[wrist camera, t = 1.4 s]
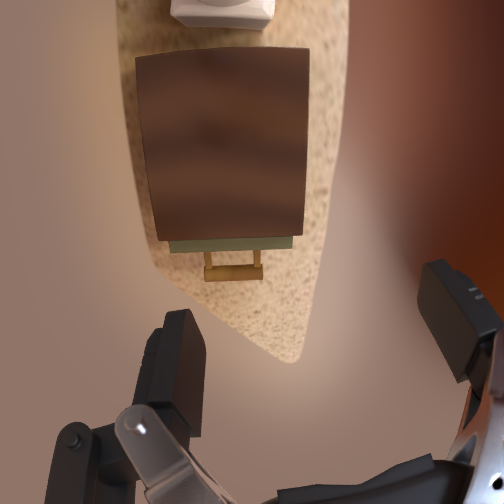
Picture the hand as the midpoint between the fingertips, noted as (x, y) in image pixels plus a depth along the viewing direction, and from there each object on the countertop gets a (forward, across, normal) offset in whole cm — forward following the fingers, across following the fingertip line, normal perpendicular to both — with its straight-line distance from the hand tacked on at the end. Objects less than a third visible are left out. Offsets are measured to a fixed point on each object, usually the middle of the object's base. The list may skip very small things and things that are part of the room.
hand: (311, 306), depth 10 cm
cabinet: (+22, +3, -2) cm, 23 cm away
